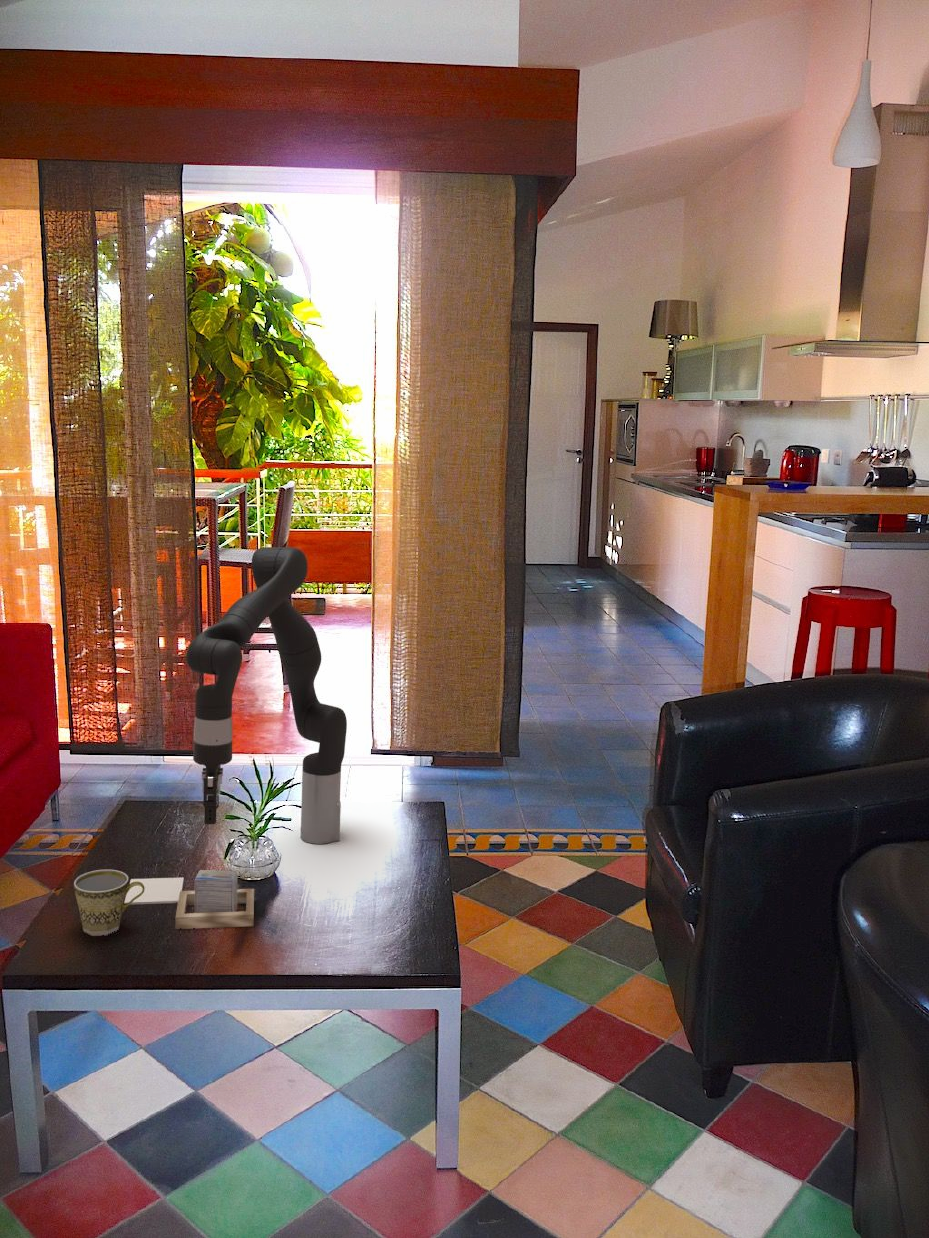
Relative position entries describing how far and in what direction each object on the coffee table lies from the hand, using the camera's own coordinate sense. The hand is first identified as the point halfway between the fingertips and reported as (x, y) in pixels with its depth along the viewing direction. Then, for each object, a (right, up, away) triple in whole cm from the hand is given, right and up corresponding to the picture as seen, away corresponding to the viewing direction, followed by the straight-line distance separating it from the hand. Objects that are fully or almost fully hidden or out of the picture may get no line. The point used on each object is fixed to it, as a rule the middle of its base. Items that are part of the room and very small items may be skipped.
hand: (211, 815), depth 203 cm
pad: (-15, -18, +11) cm, 26 cm away
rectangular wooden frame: (0, -21, +3) cm, 21 cm away
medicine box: (0, -21, +3) cm, 21 cm away
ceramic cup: (-19, -21, -5) cm, 29 cm away
